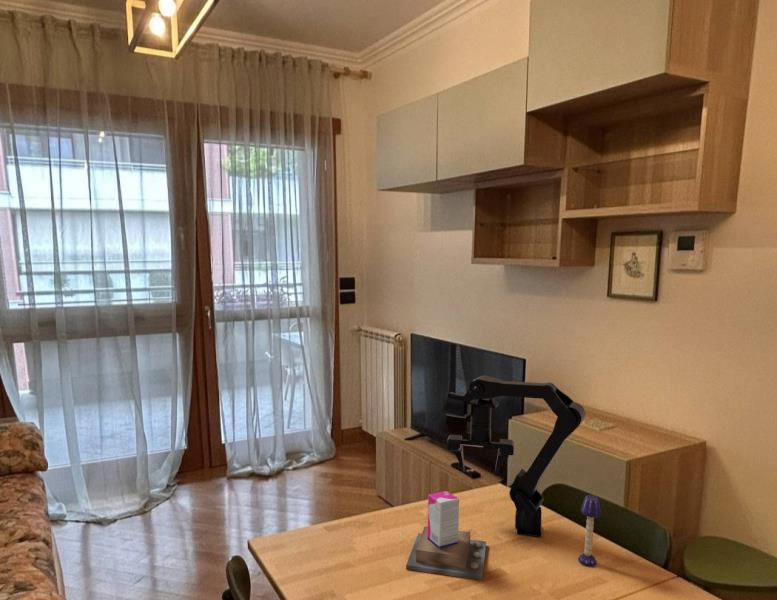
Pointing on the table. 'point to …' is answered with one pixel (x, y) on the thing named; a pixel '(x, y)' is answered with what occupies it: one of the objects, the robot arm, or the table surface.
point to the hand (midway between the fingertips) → (479, 473)
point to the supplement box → (443, 519)
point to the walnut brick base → (450, 569)
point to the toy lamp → (589, 528)
